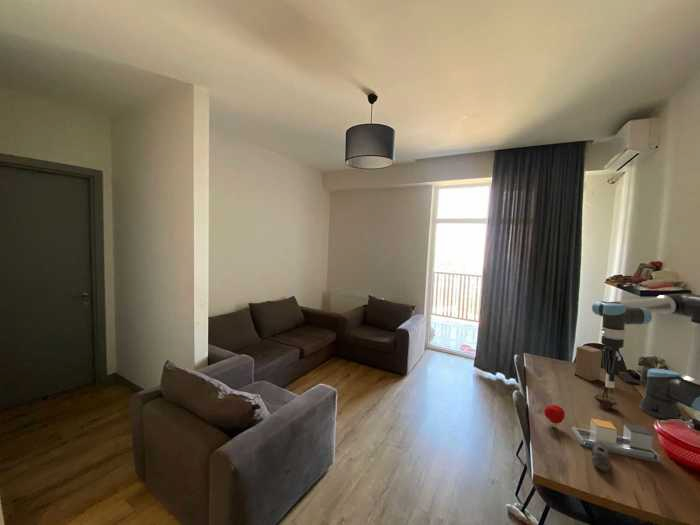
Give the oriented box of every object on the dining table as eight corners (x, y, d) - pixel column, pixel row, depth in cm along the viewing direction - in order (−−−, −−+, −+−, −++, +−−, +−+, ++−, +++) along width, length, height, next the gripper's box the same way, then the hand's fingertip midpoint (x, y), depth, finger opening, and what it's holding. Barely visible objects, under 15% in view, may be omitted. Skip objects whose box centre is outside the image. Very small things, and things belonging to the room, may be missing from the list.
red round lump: (552, 433, 131) (554, 412, 130) (538, 423, 138) (540, 403, 137) (568, 430, 133) (569, 409, 133) (553, 421, 140) (555, 401, 140)
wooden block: (573, 375, 194) (575, 346, 193) (584, 373, 197) (586, 345, 196) (589, 381, 185) (592, 351, 184) (600, 380, 188) (602, 350, 186)
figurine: (593, 406, 155) (594, 384, 154) (593, 400, 161) (595, 380, 160) (617, 413, 148) (619, 391, 148) (617, 407, 154) (619, 386, 154)
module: (608, 439, 126) (610, 422, 125) (615, 447, 121) (617, 429, 120) (589, 435, 128) (590, 418, 128) (595, 443, 123) (596, 425, 123)
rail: (643, 446, 124) (645, 424, 123) (659, 462, 114) (661, 439, 114) (571, 431, 132) (573, 411, 132) (581, 445, 123) (582, 423, 122)
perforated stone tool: (592, 449, 121) (593, 434, 120) (608, 456, 117) (610, 439, 117) (590, 469, 110) (591, 452, 109) (608, 477, 106) (610, 459, 106)
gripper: (595, 332, 138) (592, 379, 140) (610, 340, 126) (607, 392, 127) (614, 333, 136) (611, 381, 137) (631, 342, 124) (628, 395, 125)
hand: (609, 386), depth 132 cm, fingers closed
